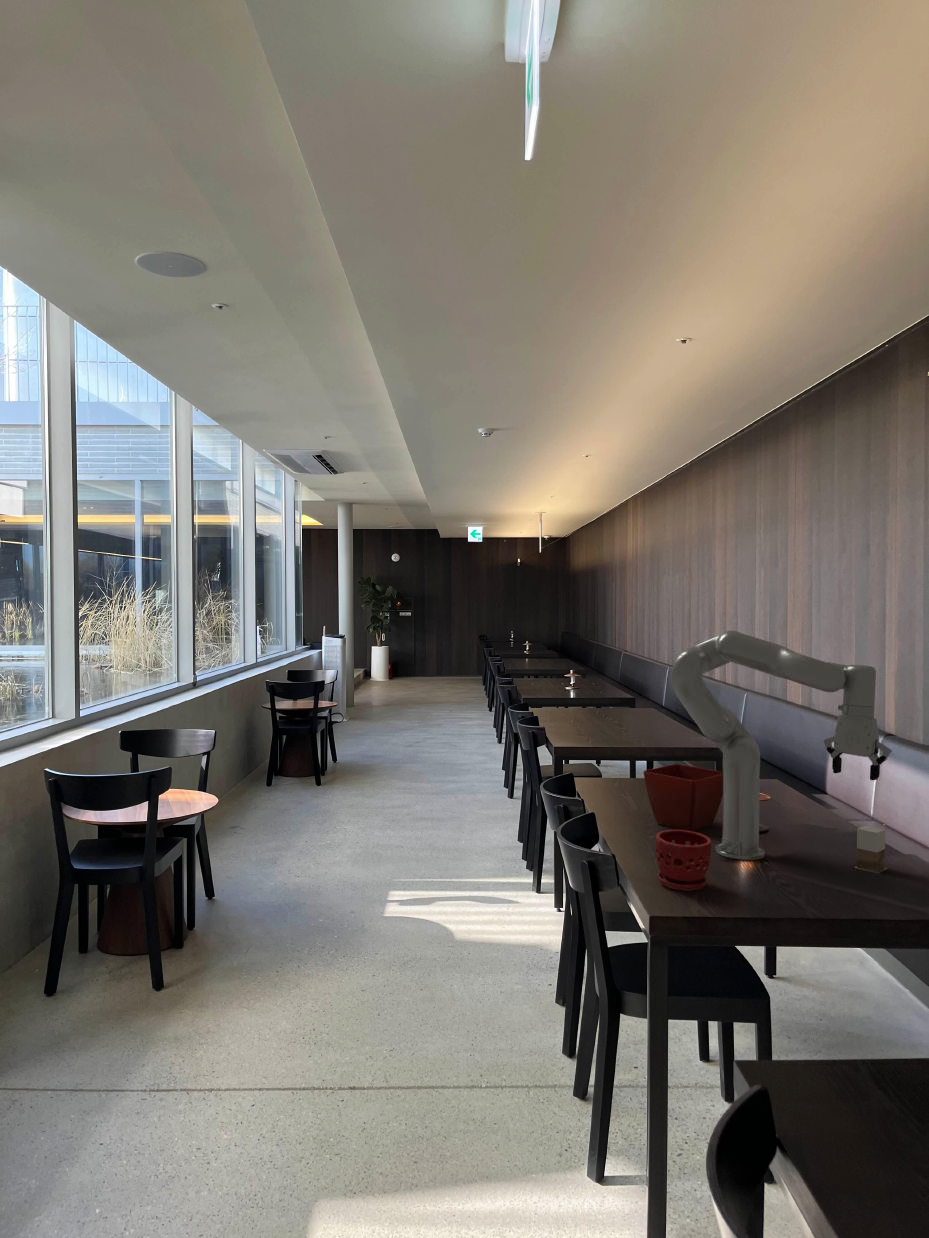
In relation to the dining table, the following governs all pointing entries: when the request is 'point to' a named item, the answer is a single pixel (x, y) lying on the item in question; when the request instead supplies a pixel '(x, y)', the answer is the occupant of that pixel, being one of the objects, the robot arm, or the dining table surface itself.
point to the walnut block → (871, 860)
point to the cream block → (871, 838)
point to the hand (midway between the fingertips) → (855, 776)
